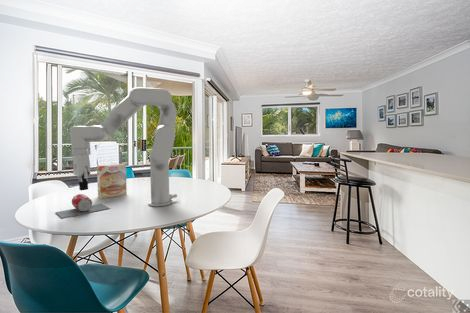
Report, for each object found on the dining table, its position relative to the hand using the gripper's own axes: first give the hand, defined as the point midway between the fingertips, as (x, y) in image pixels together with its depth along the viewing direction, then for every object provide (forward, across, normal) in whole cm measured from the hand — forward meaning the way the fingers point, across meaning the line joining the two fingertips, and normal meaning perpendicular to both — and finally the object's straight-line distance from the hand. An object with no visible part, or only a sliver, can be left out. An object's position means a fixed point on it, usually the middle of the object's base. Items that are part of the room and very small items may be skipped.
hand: (83, 189), depth 113 cm
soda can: (+6, -8, 0) cm, 10 cm away
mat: (+10, -1, -1) cm, 11 cm away
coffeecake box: (+11, -23, +21) cm, 33 cm away
